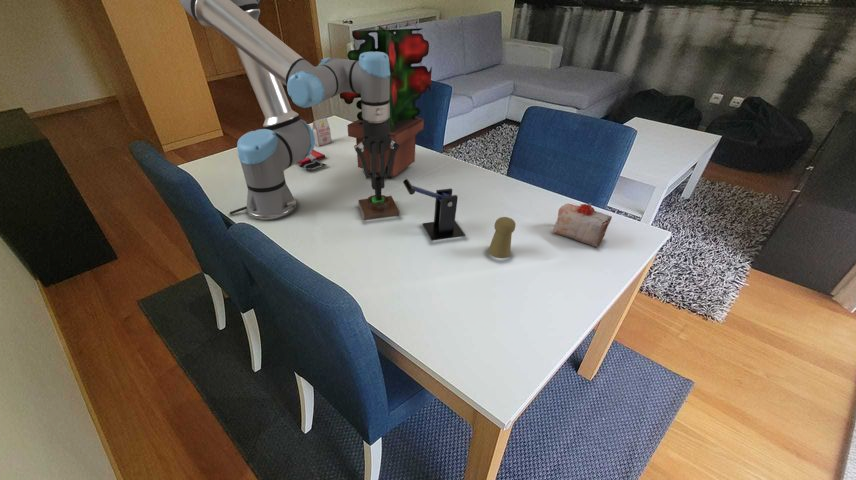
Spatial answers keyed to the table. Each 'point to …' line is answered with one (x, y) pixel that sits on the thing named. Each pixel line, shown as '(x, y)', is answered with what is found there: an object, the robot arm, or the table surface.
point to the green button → (377, 200)
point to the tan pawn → (502, 237)
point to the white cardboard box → (321, 132)
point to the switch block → (378, 208)
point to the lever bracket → (444, 218)
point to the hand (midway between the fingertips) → (378, 197)
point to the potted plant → (395, 91)
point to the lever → (422, 190)
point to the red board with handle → (312, 161)
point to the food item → (582, 223)
